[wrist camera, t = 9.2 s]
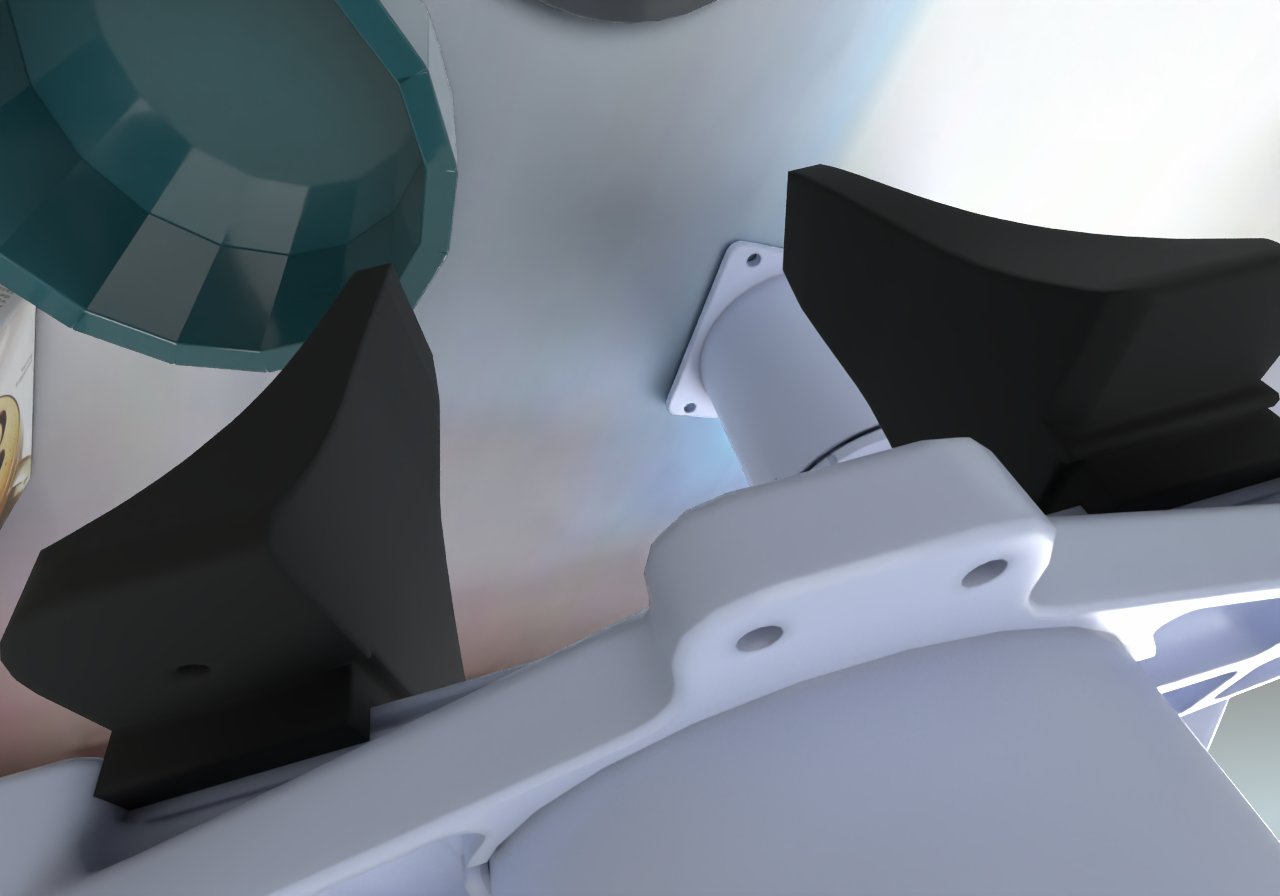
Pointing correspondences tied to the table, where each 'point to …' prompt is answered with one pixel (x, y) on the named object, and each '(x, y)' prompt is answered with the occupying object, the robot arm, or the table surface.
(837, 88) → the table surface
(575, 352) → the table surface
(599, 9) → the grey pot lid
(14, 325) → the coffee box
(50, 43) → the cup
